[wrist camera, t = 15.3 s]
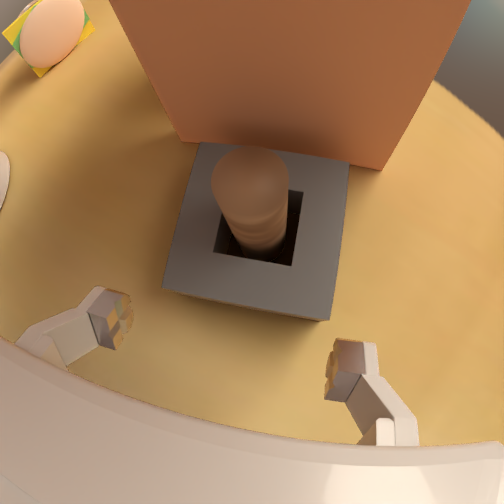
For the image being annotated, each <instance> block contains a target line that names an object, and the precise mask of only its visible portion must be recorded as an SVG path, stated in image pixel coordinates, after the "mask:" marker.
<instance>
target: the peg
mask: <svg viewBox="0 0 504 504" xmlns="http://www.w3.org/2000/svg"><path fill="white" fill-rule="evenodd" d="M288 185H289V176H288V171H287V168H286V166H285V164H284V162H283V161H282V159H281V158H280V157H279V156H278V155H277V154H275V153H274V152H272V151H270V150H268V149H266V148H263V147H258V146H245V147H240V148H237V149H234V150H232V151H230V152H229V153H227V154H226V155H224V156H223V157H222V158H221V159H220V160H219V161H218V163H217V164H216V166H215V168H214V170H213V173H212V177H211V188H212V192H213V195H214V197H215V199H216V201H217V203H218V205H219V207H220V209H221V211H222V213H223V215H224V217H225V219H226V221H227V223H228V225H229V227H230V229H231V231H232V233H233V235H234V237H235V239H236V241H237V243H238V245H239V247H240V249H241V251H242V252H243V254H244V255H245V256H246V257H247V258H248V259H253V260H259V261H264V262H270V261H272V260H274V259H276V258H277V257H278V256H279V255H280V254H281V253H282V251H283V249H284V247H285V240H286V223H287V205H288Z"/></svg>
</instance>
